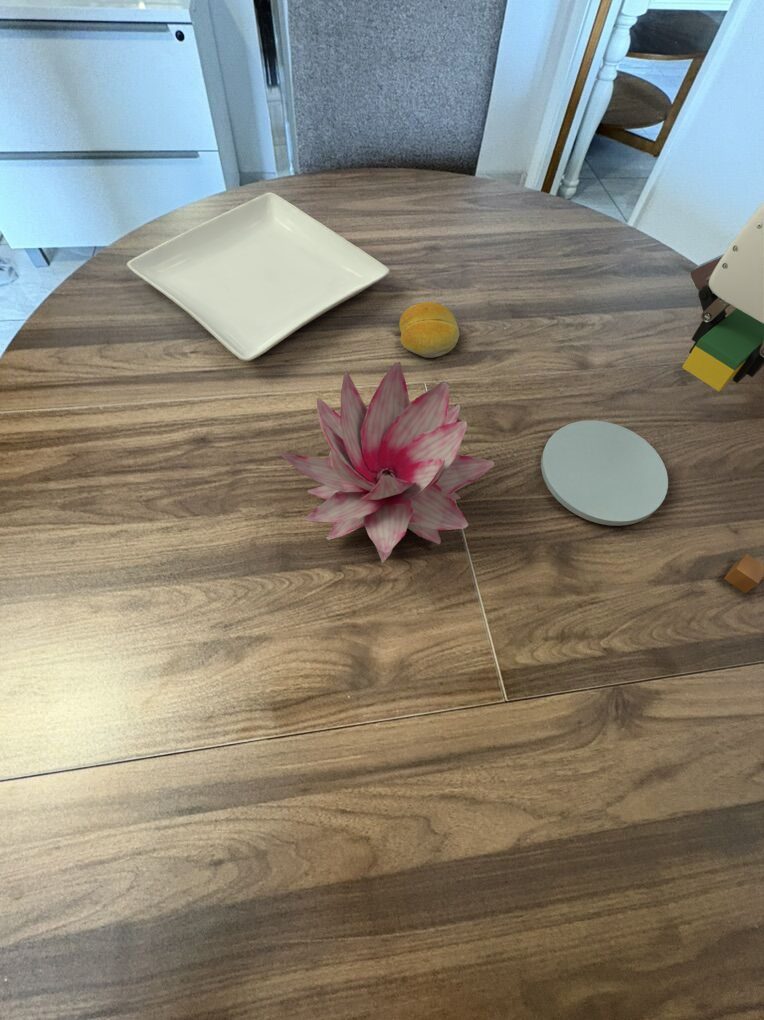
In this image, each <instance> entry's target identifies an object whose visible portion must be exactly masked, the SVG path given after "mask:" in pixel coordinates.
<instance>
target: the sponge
mask: <svg viewBox="0 0 764 1020" xmlns="http://www.w3.org/2000/svg"><path fill="white" fill-rule="evenodd" d="M725 317H726V318H724V319H723V320H722V321H721V322H720V323H718V324H717V325H716V326H715V327H714V328H712V329H711V330H710V331H709V332H707V333H706V334H705V335H704V336H703V337H701V338H700V339H699V341H698V343H697V344H696V346H695V347H694V349H693V351H692V352H691V354H690V353H689V355H688V357H687V359H686V360H685V361H684V363H683V365H682V366H681V368H682V369H684V370H685V371H687V372H688V373H690V374H691V375H693V376H694V377H696V378H697V379H698V380H700V381H702V382H703V383H705V384H707V385H708V386H709V387H711V388H713V389H714V390H715V391H717V392H721V390H723V389H724V388H725V387H726V386H727V385H728V384H729V383H730V382H732V381H733V377H734V376H735V375H736V373H737V372H738V371H739V369H740V368H741V367H742V365H743V364H744V363H745V361H746V360H747V359H748V357H749V356H750V355H751V353H752V352H753V351H754V350H755V349H756V348H757V347H759V346H760V345H761V344H762V343H763V341H764V324H763V323H761V322H760V321H758V320H756V319H754V318H753V317H751V316H749V315H747V314H746V313H744V312H742V311H741V310H739V309H737V308H736V307H735V309H734V310H732V311H731V312H730V313H729V314H728V315H726V316H725Z"/></svg>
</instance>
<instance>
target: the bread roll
mask: <svg viewBox="0 0 764 1020" xmlns="http://www.w3.org/2000/svg"><path fill="white" fill-rule="evenodd" d="M398 325H399V330H400V333H401V335H400V343H401V346H403V348H404V349H405V350H406V351H409V352H411V353H413V354H416V355H418V356H420V357H422V358H428V359H429V358H430V359H432V358H433V359H434V358H438V357H442V356H444V355H446V354H448V353H450V352H451V351H452V350H453V349H454V348H455V347H456V345H457V344H458V341H459V338H460V329H459V326H458V323H457V319H456V317H455V316H454V314H453V313H452V312H451V310H450V309H449V308H448V307H446V306H445V305H442V304H441V303H437V302H432V301H426V302H420V303H419V302H418V303H416V304H413V305H411V306H409V307H407V308H406V309H405V310H404V312H403V313H402V314H401V316H400V319H399V323H398Z"/></svg>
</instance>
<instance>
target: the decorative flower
mask: <svg viewBox="0 0 764 1020" xmlns="http://www.w3.org/2000/svg"><path fill="white" fill-rule="evenodd" d="M405 378H406V377H405V375H404V372H403V368H402V364H401V362H400V361H399V362H398V361H397V362H394V363H393V364H392V366H391V367H390V369H389V370H388V371H387V372H386V374H385V375H384V377H383V378H381V381H380V382H379V384H378V387H377V389H376V390H375V391H374V394H373V396H372V397H371V400H370V401H369V404H368V407H367V406H366V404H365V402H364V399H362V397H361V395H360V393H359V391H358V389H357V387H356V385H355V383H354V381H353V379H352V377H351V375H350V373H349V372H348V371H344V373H343V379H342V383H341V390H340V414H339V413H338V412H337V411H335V410H334V409H333V408H332V407H331V406H330V405H328V404H327V403H326V402H325V401H324V400H323V399H321V398H320V397H319V398H318V397H317V398H316V409H317V417H318V423H319V426H320V429H321V431H322V433H323V436H324V438H325V440H326V441H327V444H328V446H329V447H330V449H331V450H330V451H329V454H328V456H327V458H326V457H325V458H324V457H314V456H306V455H300V454H299V455H298V454H293V453H287V452H280V454H279V455H280V456H281V457H282V458H283V459H284V460H286V461H287V462H288V463H289V464H290V465H291V466H292V467H294V468H295V469H296V470H297V471H298V472H300V473H301V474H303V475H305V476H306V477H308V478H310V479H312V480H314V481H316V482H317V483H318V484H320V485H321V486H317V487H315V488H311V489H308V490H307V494H311V495H313V496H316V497H318V498H321V499H323V500H325V501H324V502H322V503H321V504H320V505H318V507H316V508H314V510H312V511H311V512H310V513H309V514H307V516H305V517H304V518H303V519H304V520H305V521H307V522H313V523H320V524H325V523H327V524H330V523H334V524H333V525H332V527H331V529H330V531H329V532H328V534H327V536H326V538H325V540H328V541H330V540H333V539H336V538H340V537H343V536H347V535H348V534H350V533H352V532H354V531H356V530H358V529H360V528H361V527H365V530H366V532H367V535H368V537H369V538H370V540H371V541H372V543H373V544H374V547H375V549H376V551H377V554H378V556H379V558H380V561H381V563H382V564H384V562H385V561H386V560H387V559H388V558H389V557H390V555H391V554H392V551H393V549H394V548H395V546H397V544H398V543H399V542H400V541H401V540H402V538H403V537H405V535H406V533H407V529H408V530H410V531H411V532H413V533H414V534H416V535H417V536H418V537H421V538H423V539H425V540H428V541H430V542H432V543H434V544H437V545H440V544H441V543H442V539H441V537H440V533H439V531H447V530H449V531H451V530H461V529H466V528H467V527H469V523H468V521H467V519H466V518H465V517H466V516H465V515H464V514H463V513H464V512H462V511H461V509H460V508H459V506H458V505H457V504H456V502H455V501H457V500H460V499H461V496H460V495H458V494H457V493H456V491H458V490H460V489H462V488H464V487H466V486H467V485H469V484H471V483H472V482H475V481H477V480H478V479H480V478H481V477H482V476H483V475H485V474H486V473H487V472H489V471H490V470H491V469H492V468H493V467H494V466H495V462H494V461H493V460H490V459H484V458H479V457H473V456H469V455H462V454H461V455H460V454H458V453H459V450H460V447H461V444H462V441H463V439H464V436H465V433H466V430H467V428H468V423H467V420H460V421H458V419H459V415H460V410H461V405H460V404H458V403H457V404H455V405H452V406H450V387H449V385H450V384H449V382H447V381H444V380H442V382H440V383H438V384H436V385H435V386H433V387H432V388H430V389H429V390H427V391H425V392H424V393H422V394H421V395H419V396H418V397H416V398H415V399H414V400H413V401H412V402H411V401H410V397H409V391H408V386H407V381H406V379H405Z"/></svg>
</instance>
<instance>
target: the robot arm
mask: <svg viewBox="0 0 764 1020" xmlns="http://www.w3.org/2000/svg"><path fill="white" fill-rule="evenodd" d="M690 277H691V280H692V281H693V284H694V286H695V288H696V290H698V298H699V302H700V306H701V309H702V313H701V315H700V318H701V320H702V321H701V323H700V324H699V326H698V328H697V329H696V331H695V332H694V334H693V336H692V337H691V340H692V341H693V342H694V343H693V345H692V347H691V348H690V349H689V351H688V353H689V355H690V354H691V352H692V351H693V349H694V347H695V346H696V344H697V343H698V341H699V339H700V338H701V337H703V336H704V335H705V334H706V333H707V332H709V331H710V330H711V329H712V328H714V327H715V326H716V325H717V324H718V323H720V322H721V321H722V320H723V319H724V318H726V317H727V314H728V313H727V312H726V310H727V308H729V307H731V306H732V307H734V308H735V309H736V308H737V309H739V310H741V311H742V312H744V313H746V314H747V315H749V316H751V317H753V318H754V319H756V320H758V321H760V322H761V323H763V324H764V200H763V201H762V202H761V203H760V205H758V207H757V208H756V210H755V211H754V212H753V213H752V214H751V216H750V217H749V218H748V219H747V221H746V223H745V224H744V225H743V227H742V228H741V229H740V231H739V232H738V234H737V235H736V237H735V238H734V239H733V241H732V242H731V243H730V245H729V246H728V248H727V249H726V251H725V252H724V253H723V254H720V255H717V256H716V257H714V258H711V259H709V260H707V261H705V262H703V263H701V264H699V265H697V266H696V267H695V268H693V269H691V271H690ZM763 367H764V341H763V343H762V344H761V345H760V346H759V347H757V348H756V349H755V350H754V351H753V352H752V353H751V355H750V356H749V357H748V359H747V360H746V361H745V363H744V364H743V365H742V367H741V368H740V369H739V371H738V372H737V373H736V375H735V376H734V377H733V379H732V381H733V382H734V383H736V384H739V382H740V381H742V380H743V379H744V378H745V377H746V376H747V375H748V376H749V377H750V378H753V377H755V376H756V374H758V372H759V371H760V370H761V369H762V368H763Z"/></svg>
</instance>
